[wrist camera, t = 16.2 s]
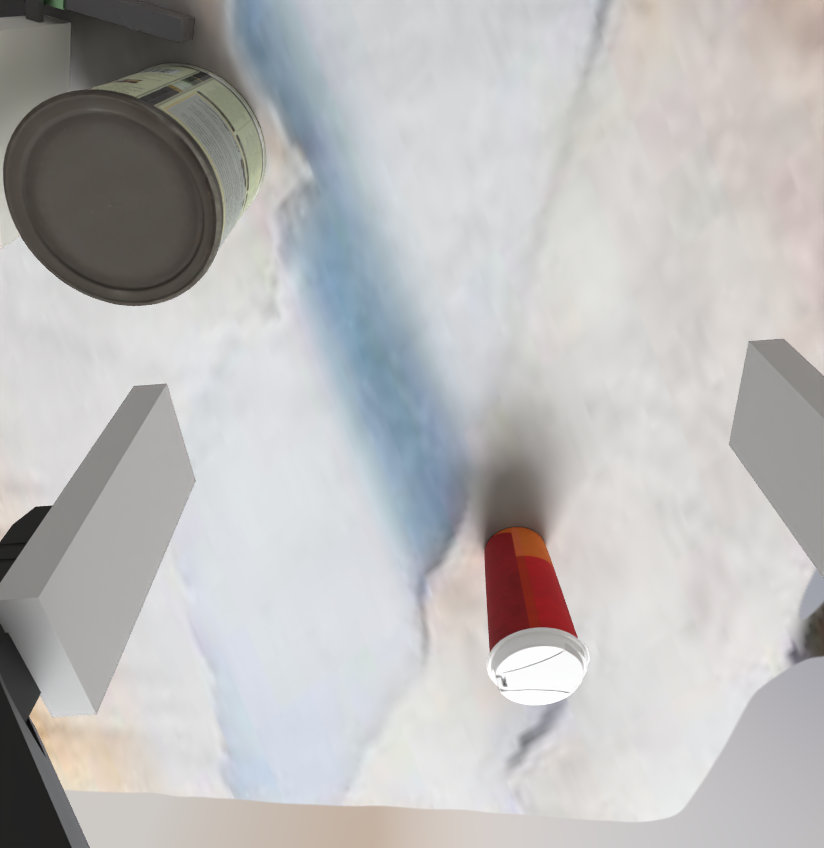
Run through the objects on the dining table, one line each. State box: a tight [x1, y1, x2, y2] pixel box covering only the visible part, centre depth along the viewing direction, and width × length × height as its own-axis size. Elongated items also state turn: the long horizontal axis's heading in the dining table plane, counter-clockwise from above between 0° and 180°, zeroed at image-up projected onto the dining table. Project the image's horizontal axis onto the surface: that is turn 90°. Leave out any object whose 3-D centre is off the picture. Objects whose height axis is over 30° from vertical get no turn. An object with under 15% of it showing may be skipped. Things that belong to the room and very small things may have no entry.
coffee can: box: [3, 63, 266, 306], centre depth 40 cm, size 10×10×14 cm
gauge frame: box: [44, 0, 195, 43], centre depth 40 cm, size 17×15×11 cm
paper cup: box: [485, 527, 589, 705], centre depth 59 cm, size 8×8×14 cm
